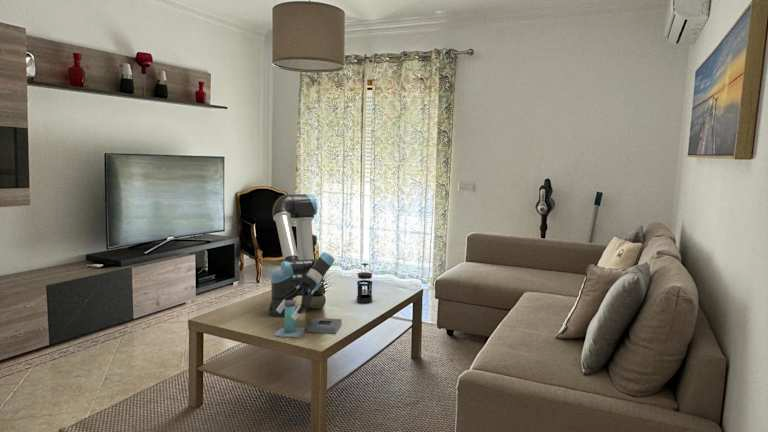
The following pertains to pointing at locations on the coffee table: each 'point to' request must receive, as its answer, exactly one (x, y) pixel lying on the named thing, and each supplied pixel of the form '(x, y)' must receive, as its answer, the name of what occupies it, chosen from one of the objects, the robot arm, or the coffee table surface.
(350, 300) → the coffee table surface
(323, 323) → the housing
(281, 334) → the mat
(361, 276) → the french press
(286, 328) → the plug
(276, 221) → the robot arm
